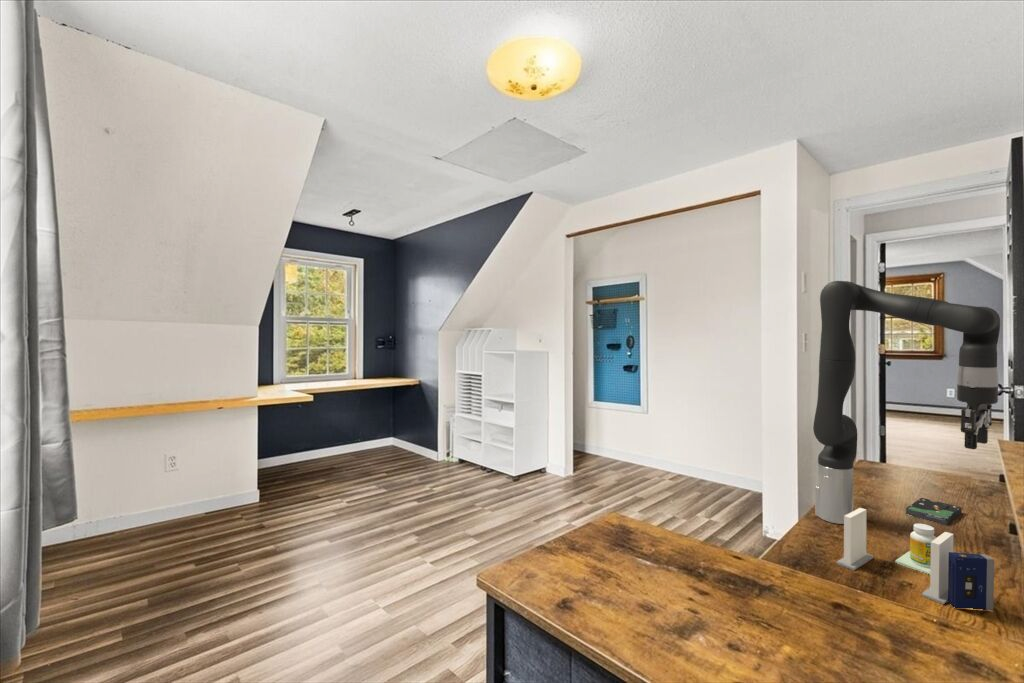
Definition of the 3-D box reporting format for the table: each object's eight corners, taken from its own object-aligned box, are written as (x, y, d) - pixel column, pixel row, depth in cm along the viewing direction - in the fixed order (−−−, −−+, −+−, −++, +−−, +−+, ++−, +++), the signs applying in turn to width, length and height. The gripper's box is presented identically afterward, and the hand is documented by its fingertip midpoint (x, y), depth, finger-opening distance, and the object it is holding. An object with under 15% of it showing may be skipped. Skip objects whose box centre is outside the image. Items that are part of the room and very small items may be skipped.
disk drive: (920, 505, 159) (905, 516, 151) (920, 497, 159) (905, 507, 151) (961, 515, 151) (948, 527, 142) (962, 506, 150) (948, 518, 142)
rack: (836, 563, 123) (836, 515, 122) (856, 551, 128) (856, 505, 128) (944, 605, 104) (945, 548, 104) (961, 588, 110) (962, 534, 110)
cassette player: (954, 609, 103) (955, 555, 102) (947, 602, 105) (947, 550, 105) (994, 612, 101) (995, 558, 101) (986, 606, 104) (987, 553, 103)
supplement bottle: (920, 556, 124) (920, 520, 124) (943, 566, 119) (943, 529, 118) (904, 559, 123) (904, 523, 122) (927, 569, 118) (927, 532, 117)
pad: (895, 563, 122) (895, 560, 122) (909, 553, 127) (909, 551, 127) (940, 578, 115) (940, 576, 115) (953, 567, 119) (953, 565, 119)
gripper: (967, 379, 128) (965, 438, 129) (948, 385, 121) (947, 447, 121) (1006, 382, 122) (1004, 444, 122) (988, 388, 114) (987, 453, 115)
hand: (976, 445), depth 122 cm, fingers open, 8 cm apart
